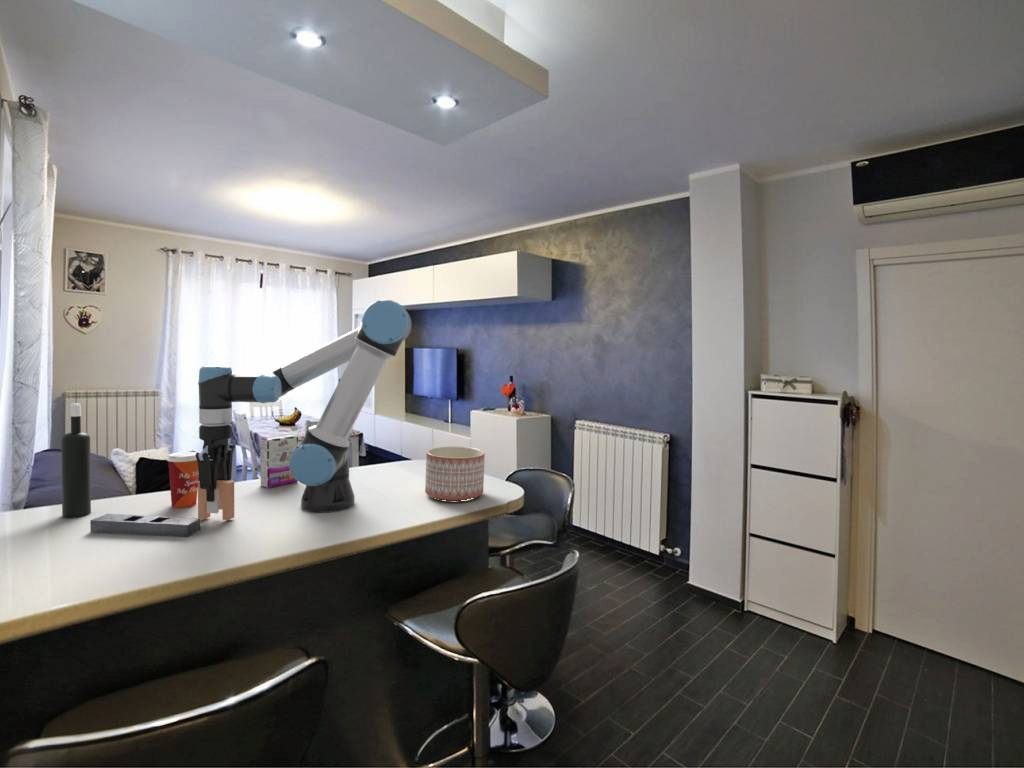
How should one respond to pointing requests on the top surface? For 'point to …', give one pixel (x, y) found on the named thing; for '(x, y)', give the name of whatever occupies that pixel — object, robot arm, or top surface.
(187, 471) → the coffee cup
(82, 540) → the top surface
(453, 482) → the planter
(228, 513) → the clip
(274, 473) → the candy bar box
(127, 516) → the rail
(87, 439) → the wine bottle
